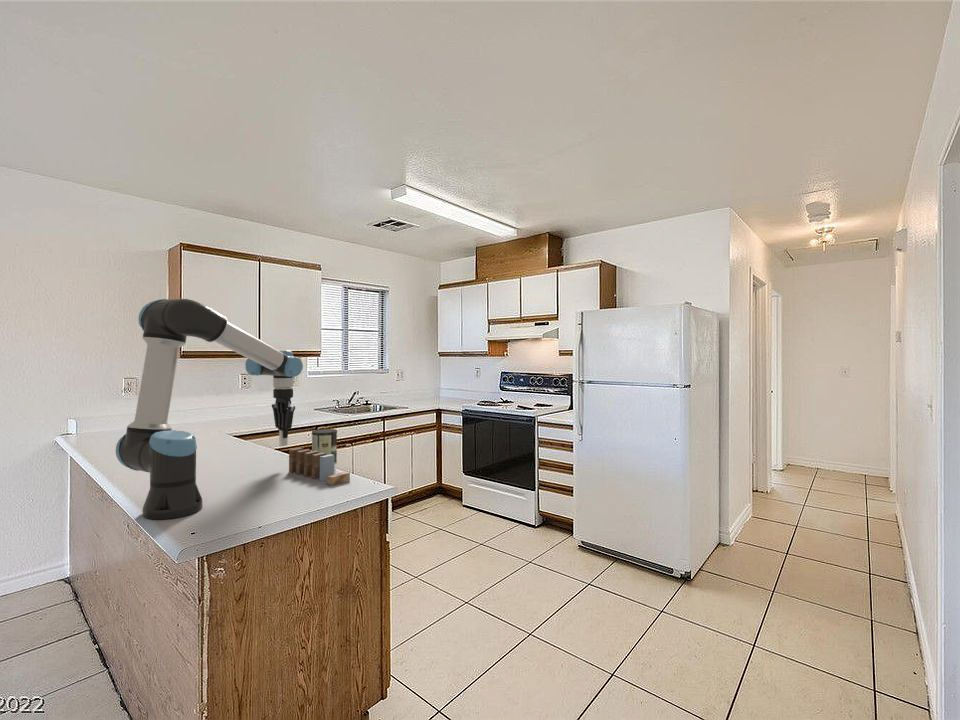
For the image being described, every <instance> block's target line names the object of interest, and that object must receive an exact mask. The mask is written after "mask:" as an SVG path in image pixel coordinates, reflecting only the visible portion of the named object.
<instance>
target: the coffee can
mask: <svg viewBox="0 0 960 720" xmlns="http://www.w3.org/2000/svg"><path fill="white" fill-rule="evenodd" d="M337 434H338V430H337V429H336V428H335V429H333V428H321V429H314V430H311V452H312V451H318V453H326V455H330V454H332V455H334V466H335V465H337V463H338V462H337V461H338V460H337V457H338V456H337V455H338V452H337V448H338V447H337V445H338V444H337V442H338V441H337V440H338V435H337Z"/></svg>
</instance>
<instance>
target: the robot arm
mask: <svg viewBox="0 0 960 720" xmlns="http://www.w3.org/2000/svg"><path fill="white" fill-rule="evenodd" d="M138 324H139V327H140V328H141V329H142V332H143V335H142V340H143V341H144V342H145V343H146V346H147V347H146V352H145V356H144V357H145V358H144V362H143V363H144V364H143V370H142V375H141V380H140V381H141V382H140V387H139V392H138V396H137V404H136V410H135V417H134V419H133V421H132V422H130V423H129V424H128V425H127V426H126V432H125V434H124V435H122V437H120V438H119V439H118V441H117V443H116V446H115V455H116V458H117V461H118V462H119V463H120V464H121V465H123V466H124V467H126V468H129V469H130V470H132V471H137V472H139V471H140V472H144V473H149V490H148V492H147V495H146V497H145V501H144V503H143V506H142V517H144V518H145V519H149V520H168V519H176V518H181V517H182V518H183V517H186V516H189V515H192V514H195V513H197V512H199V511H201V510H202V509H203V497H202V495H201V492H200V490H199V488H198V485H197V441H196V440H197V438H196V436H195V435H194V434H193V433H191V432H189V431H185V430H173V428H172V426H171V425H170V424H169V423H168V419H169V412H170V406H171V401H172V399H171V398H172V393H173V387H174V381H175V375H176V369H177V364H178V358H179V357H178V356H179V351H180V349H181V348H182V347H183V346H185V345H186V343H187V337H193V338H198V339H201V340H204V341H205V342H207V343H217V344H219V345H221V346H223V347H224V348H227V349H229V350H231V351H233V352H234V353H236V354H238V355H240V356H242V357H245V358H247V359H246V361H245V363H244V364H245V371H246V373H248V375H250V376H256V377H258V376H271V377H272V376H273V377H272V387H273V388H274V389H273V390H272V391H273V392H272V393H273V394H272V395H273V396H272V397H273V399H275V403H272V404H271V409H272V411H273V412H272V413H273V418H274V419H273V420H274V424H275V425H274V426H275V429H276V428H277V430H278V437H279V438H278V439H279V440H278V441H279V444H278V445H279V447H285V446H286V447H287V446H288V439H289V438H288V437H289V435H288V434H289V430H290V429H292V427H293V421H294V420H293V419H294V412H295V410H296V406H295V405H293V404H292V400H291V398H294V389H293V387H294V377H297V376H299V375H300V374H301V373H302V371H303V368H304V365H303V364H304V363H303V361H302V359H301V358H300V357H297V356H294V355H293V354H294V353H293V351H292V350H290V349H289V350H287V349H286V350H285V349H281V350H278V349H276V348H275V347H273V346H271V345H269V344H267V342H264V341H262V340H261V339H259V338H257V337H255V336H253V335H252V334H250V333H248V332H246V330H245V331H244V330H243V329H241V328H239V327H238V326H236V325H234V324H233V323H230V322H229V321H228V318H227V317H226V316H224V315H223V314H221V313H220V312H218V311H216V310H214V309H213V308H210V307H209V306H207V305H204V304H203V303H200V302H198V301H196V300H193V299H189V298H175V299H173V298H172V299H168V298H167V299H166V298H163V299H157V300H153V301H150V302H148V303H147V304H145V305H144V306H142V308H141V310H140V311H139V314H138Z"/></svg>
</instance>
